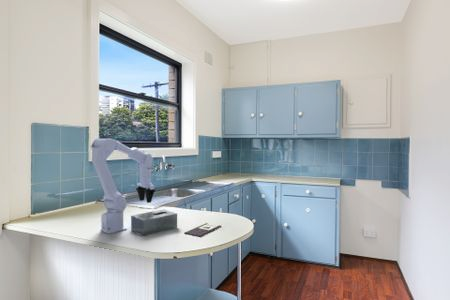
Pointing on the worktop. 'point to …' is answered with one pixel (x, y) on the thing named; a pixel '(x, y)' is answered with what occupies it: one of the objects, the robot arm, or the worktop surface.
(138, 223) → the cash box
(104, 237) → the worktop surface
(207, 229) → the chocolate bar
